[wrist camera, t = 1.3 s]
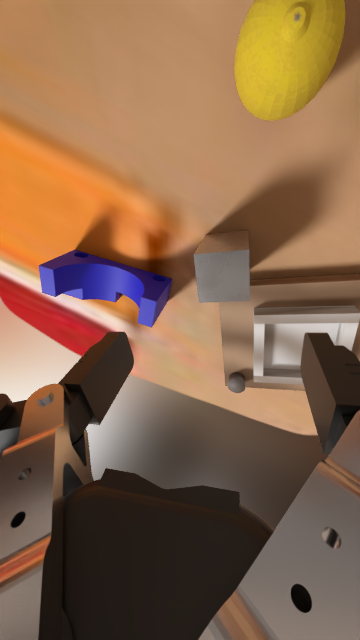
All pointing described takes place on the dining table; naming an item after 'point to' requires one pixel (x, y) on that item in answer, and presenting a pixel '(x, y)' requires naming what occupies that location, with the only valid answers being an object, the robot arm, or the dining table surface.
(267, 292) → the door panel
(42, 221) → the dining table surface
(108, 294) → the cable clip
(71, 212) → the dining table surface
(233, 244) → the hinge block
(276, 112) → the lemon
